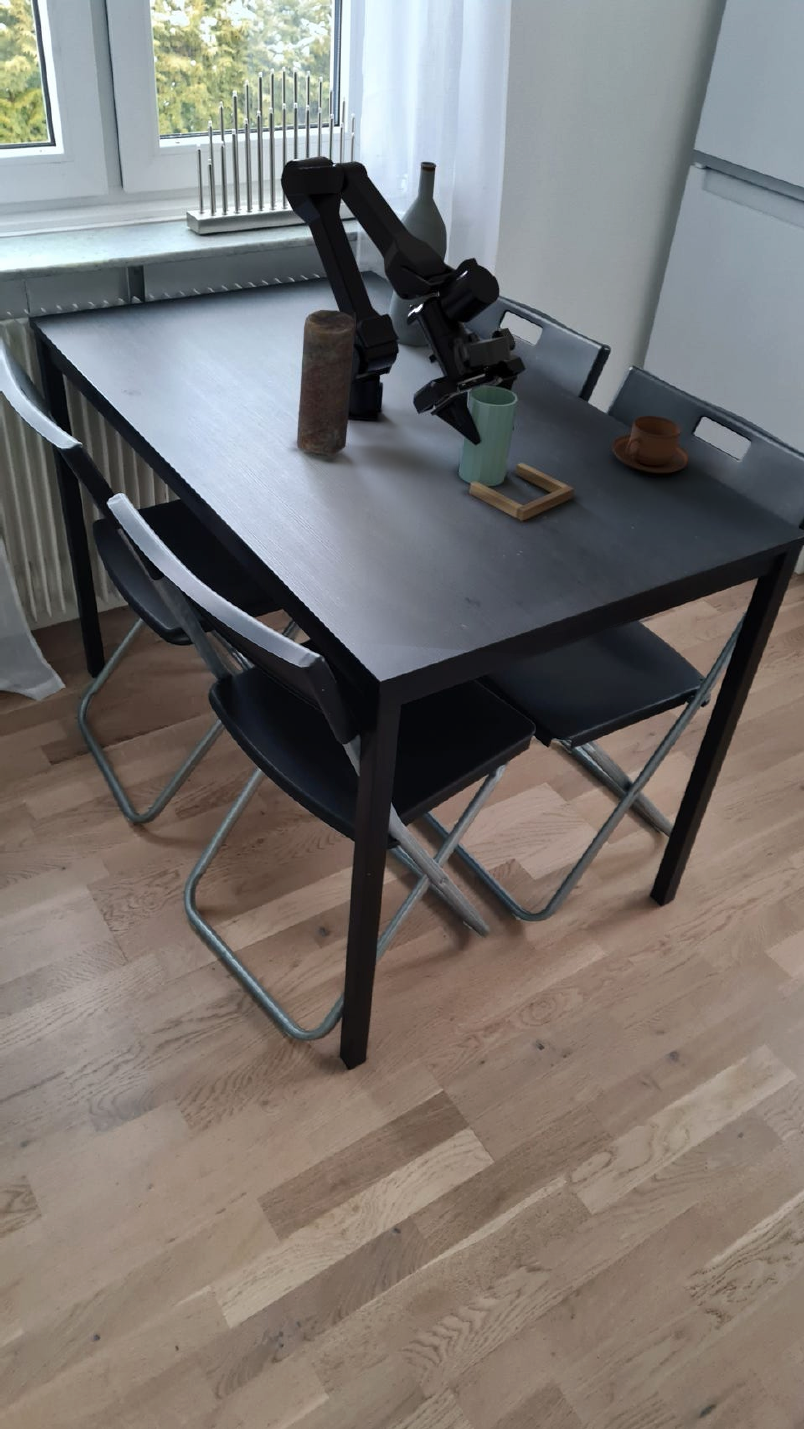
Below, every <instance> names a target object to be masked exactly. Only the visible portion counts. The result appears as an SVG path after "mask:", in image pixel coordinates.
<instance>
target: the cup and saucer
mask: <svg viewBox="0 0 804 1429" xmlns="http://www.w3.org/2000/svg"><path fill="white" fill-rule="evenodd" d="M681 432H682V428H681V426H680V425H679V424H678V423H677V422H675V421H674V420H672V419H669V418H666V417H662V416H657V415H641V416H638V417H636V418H634V420H633V422H632V427H631V432H630V434H627V435H623V436H619V437H618V438H616V439H615V440H614V441H613V443H612V452H613V454H614V456H616V458H617V459H618V460H619V461H620V462H621V463H623V464H624V465H626V466H628V467H630V468H632V469H633V470H634V469H635V470H638V471H641V472H645V473H649V474H671V473H675V472H678V471H680V470H682V469H684V468H685V467H687V465H688V464H689V462H690V454H689V452H688V451H687V450H686V449H685V448H684V447H683V446H681V445H680V444H679V440H680V436H681V434H682V433H681Z"/></svg>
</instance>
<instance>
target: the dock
mask: <svg viewBox="0 0 804 1429" xmlns="http://www.w3.org/2000/svg"><path fill="white" fill-rule="evenodd" d="M514 474H515V475H516V476H518V477H519V478H522V479H523V480H525V481H527V482H529V483H531V484H534V485H535V486H537V487H540V488H542V489H544V490H546V491H547V492H549V493H548V494H545V495H543V496H541V497H539V498H537V499H534V500H532V501H530V502H528V503H525V504H524V505H523V504H521V503H518V502H517V501H515V500H514V499H511V498H509V497H507V496H506V495H503V494H502V493H499V492H498V491H496V490H493V488H490V487H489V486H484V485H482V484H480V483H479V482H477V481H475V482H473V483H470V485H469V492H468V493H469V494H470V495H472V496H473V497H476V498H477V499H479V500H481V501H483V502H485V503H487V504H489V505H490V506H493V507H494V508H496V509H498V510H500V511H501V512H504V513H506V514H508V515H510V516H512V517H513V518H515V519H516V520H519V521H521V522H524V521H525V520H528V519H530V518H532V517H534V516H536V515H538V514H540V513H543V512H545V511H547V510H550V509H551V508H554V507H556V506H558V505H560V504H563V503H565V502H567V501H569V500H572V499H573V497H574V496H573V495H574V491H575V488H574V487H572V486H570V485H568V484H566V483H564V482H562V481H560V480H557V479H556V478H554V477H551V476H549V475H547V474H546V473H544V472H541V471H540V470H538V469H536V468H534V467H531V466H529V465H527V464H526V463H523V462H519V463H517V464H516V467H515V472H514Z"/></svg>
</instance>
